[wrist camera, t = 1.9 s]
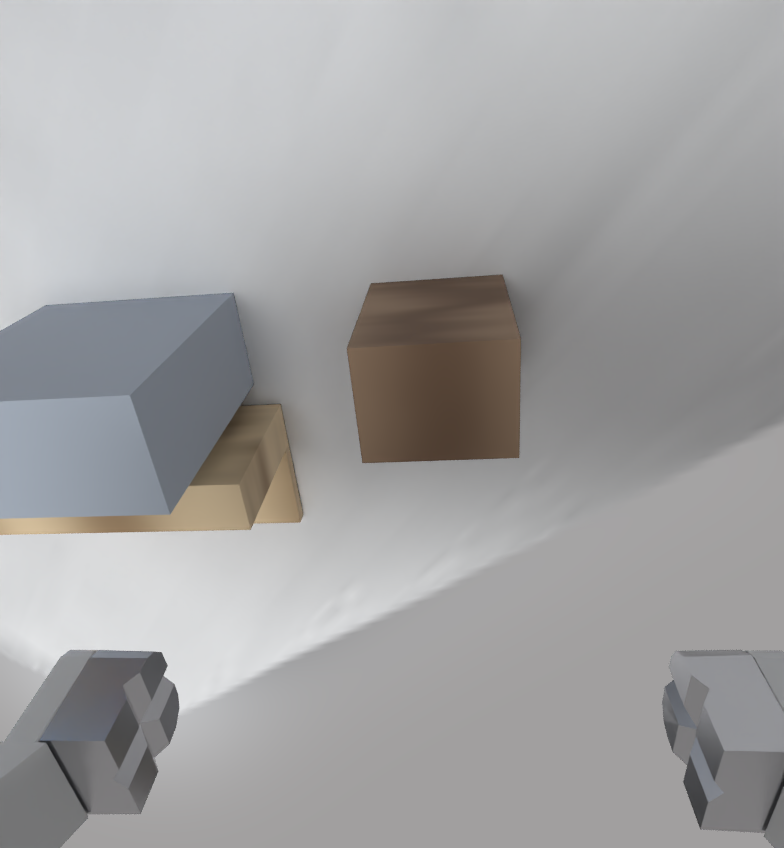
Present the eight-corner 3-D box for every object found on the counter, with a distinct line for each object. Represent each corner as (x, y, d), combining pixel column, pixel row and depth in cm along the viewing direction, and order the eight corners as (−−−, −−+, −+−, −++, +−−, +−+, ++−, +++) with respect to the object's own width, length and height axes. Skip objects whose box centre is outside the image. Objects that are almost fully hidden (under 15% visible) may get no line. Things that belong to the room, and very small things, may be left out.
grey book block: (233, 292, 24) (129, 395, 16) (254, 383, 26) (170, 514, 18) (46, 305, 25) (-138, 408, 17) (79, 392, 27) (-72, 520, 19)
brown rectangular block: (502, 274, 23) (521, 338, 17) (502, 371, 25) (519, 457, 19) (370, 283, 23) (346, 348, 18) (381, 377, 25) (362, 462, 20)
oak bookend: (280, 404, 26) (239, 484, 21) (303, 514, 29) (271, 608, 24) (65, 413, 27) (-25, 492, 22) (108, 518, 30) (37, 610, 25)
